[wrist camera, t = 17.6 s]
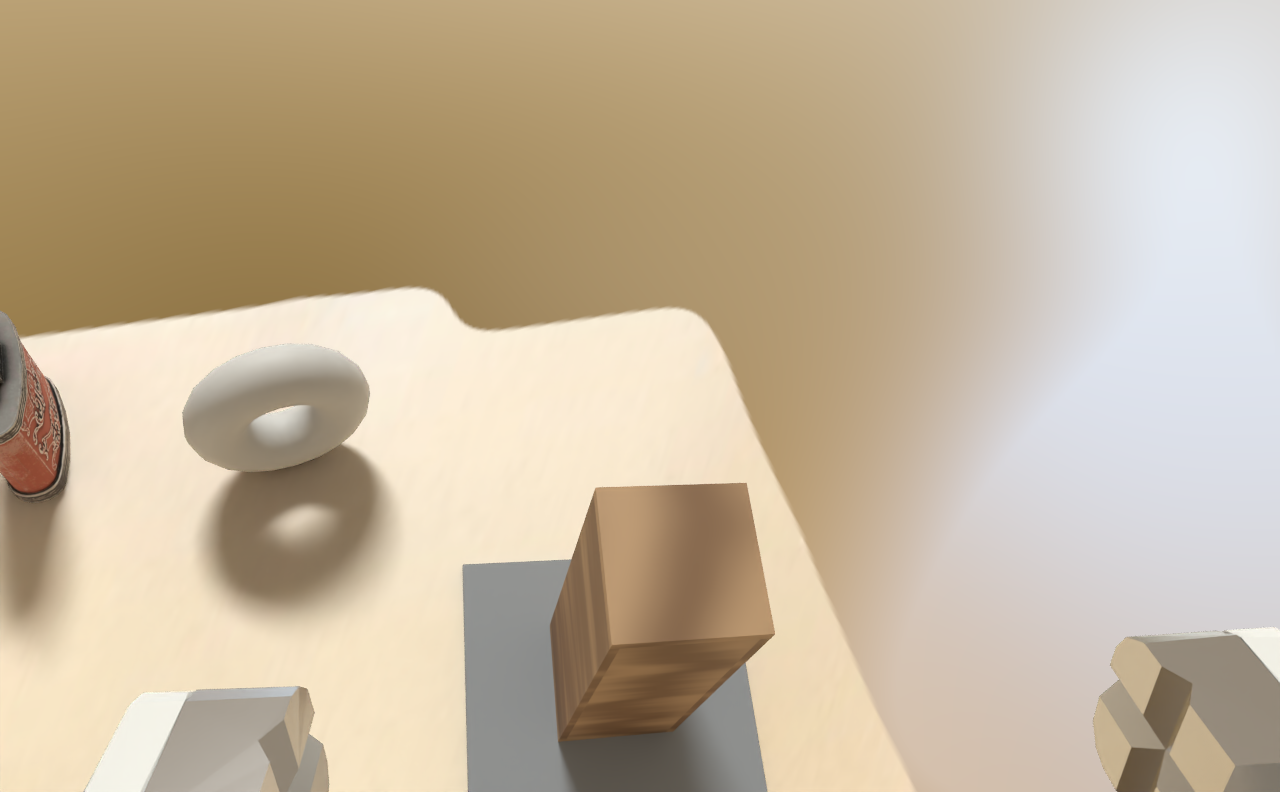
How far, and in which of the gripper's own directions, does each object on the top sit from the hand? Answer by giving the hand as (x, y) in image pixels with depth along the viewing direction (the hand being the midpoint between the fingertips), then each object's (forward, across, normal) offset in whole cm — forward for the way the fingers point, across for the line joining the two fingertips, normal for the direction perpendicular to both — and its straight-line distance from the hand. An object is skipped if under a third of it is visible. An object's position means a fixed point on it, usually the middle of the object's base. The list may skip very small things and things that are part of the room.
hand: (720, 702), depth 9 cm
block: (+31, -1, -32) cm, 45 cm away
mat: (+32, -1, -33) cm, 46 cm away
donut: (+42, -19, -24) cm, 52 cm away
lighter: (+42, -33, -22) cm, 57 cm away
